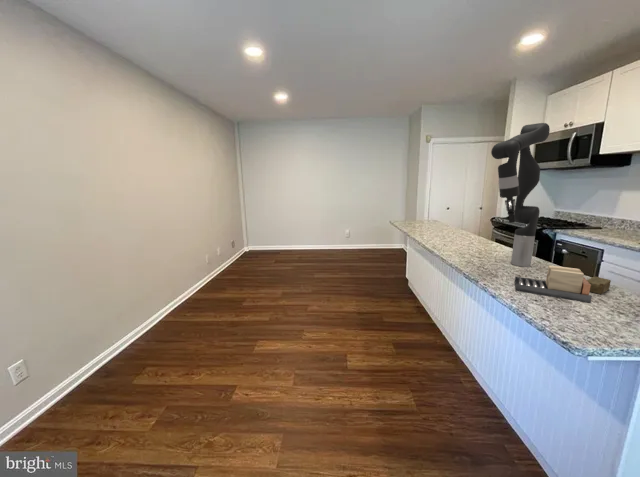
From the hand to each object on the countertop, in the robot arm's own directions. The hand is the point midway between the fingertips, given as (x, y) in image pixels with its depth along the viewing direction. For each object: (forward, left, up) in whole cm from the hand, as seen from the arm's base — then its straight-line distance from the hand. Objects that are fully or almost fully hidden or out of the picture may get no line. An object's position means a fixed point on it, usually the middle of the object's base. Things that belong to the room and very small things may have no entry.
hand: (512, 222), depth 130 cm
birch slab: (+11, +20, -25) cm, 34 cm away
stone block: (-2, +33, -28) cm, 44 cm away
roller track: (+11, +16, -28) cm, 34 cm away
